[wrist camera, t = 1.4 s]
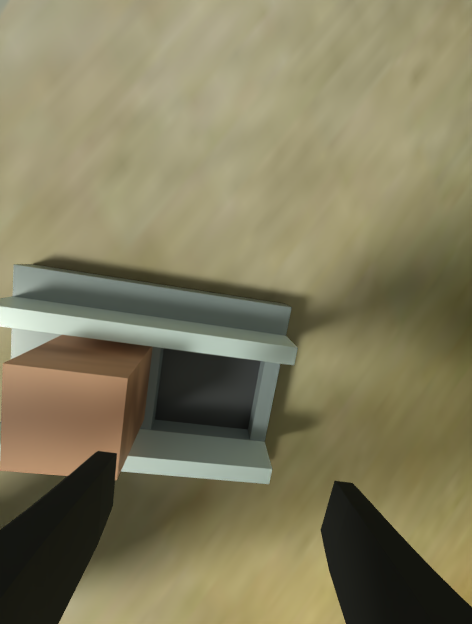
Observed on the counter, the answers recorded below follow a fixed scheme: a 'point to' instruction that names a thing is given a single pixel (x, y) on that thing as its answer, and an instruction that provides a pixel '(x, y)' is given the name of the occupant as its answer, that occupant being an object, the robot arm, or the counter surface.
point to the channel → (171, 363)
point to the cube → (72, 404)
